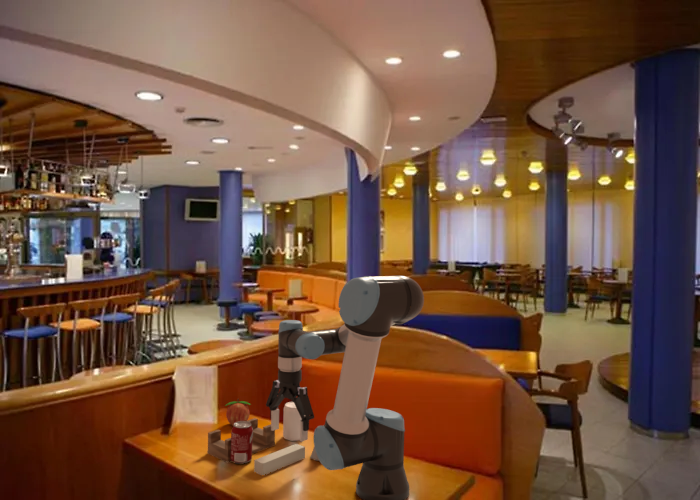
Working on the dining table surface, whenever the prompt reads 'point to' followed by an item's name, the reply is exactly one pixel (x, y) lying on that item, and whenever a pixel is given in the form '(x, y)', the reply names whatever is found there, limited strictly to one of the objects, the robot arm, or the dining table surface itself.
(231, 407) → the fruit
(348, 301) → the robot arm
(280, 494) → the dining table surface
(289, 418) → the beverage can
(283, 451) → the white rectangular bar
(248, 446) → the soda can
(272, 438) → the rack
